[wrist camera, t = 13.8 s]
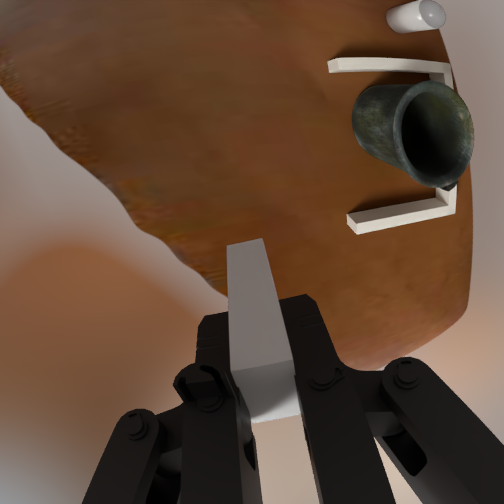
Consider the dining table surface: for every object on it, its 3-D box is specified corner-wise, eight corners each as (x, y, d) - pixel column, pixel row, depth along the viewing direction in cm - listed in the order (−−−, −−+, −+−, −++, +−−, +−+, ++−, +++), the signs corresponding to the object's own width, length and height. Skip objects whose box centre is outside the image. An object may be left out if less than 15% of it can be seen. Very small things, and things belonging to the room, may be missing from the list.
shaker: (383, 23, 27) (425, 13, 19) (389, 2, 26) (431, -10, 18) (406, 38, 28) (450, 34, 21) (411, 18, 27) (454, 10, 19)
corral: (327, 61, 30) (337, 58, 27) (435, 64, 30) (450, 63, 27) (347, 224, 40) (356, 234, 37) (441, 205, 40) (454, 213, 37)
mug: (385, 66, 30) (441, 60, 20) (439, 148, 36) (495, 170, 25) (329, 114, 33) (373, 122, 23) (391, 195, 39) (440, 229, 28)
